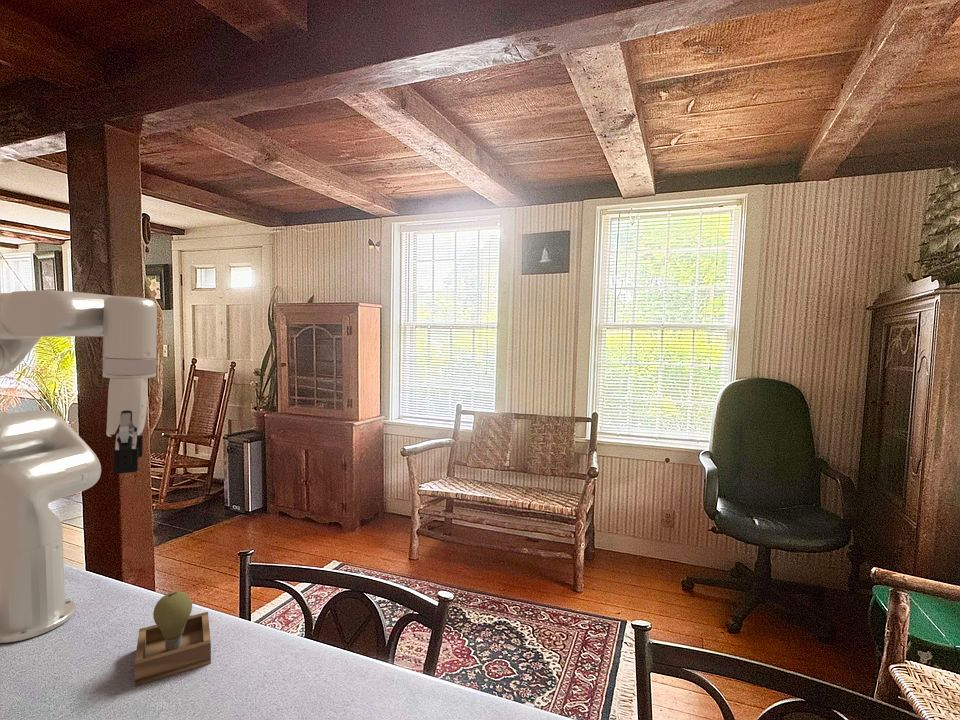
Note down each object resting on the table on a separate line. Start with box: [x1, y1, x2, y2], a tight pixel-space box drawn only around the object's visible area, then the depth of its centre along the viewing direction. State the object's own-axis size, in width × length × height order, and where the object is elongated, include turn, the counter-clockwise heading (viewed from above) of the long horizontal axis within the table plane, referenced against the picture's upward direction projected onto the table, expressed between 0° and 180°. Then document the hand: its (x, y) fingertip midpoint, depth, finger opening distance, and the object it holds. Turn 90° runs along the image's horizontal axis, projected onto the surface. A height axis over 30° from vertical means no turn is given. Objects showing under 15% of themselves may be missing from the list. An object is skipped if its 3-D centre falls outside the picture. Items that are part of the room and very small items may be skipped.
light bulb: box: [152, 590, 193, 651], centre depth 81 cm, size 6×6×10 cm
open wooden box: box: [133, 611, 212, 687], centre depth 82 cm, size 10×10×4 cm
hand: (129, 464), depth 84 cm, fingers open, 9 cm apart
